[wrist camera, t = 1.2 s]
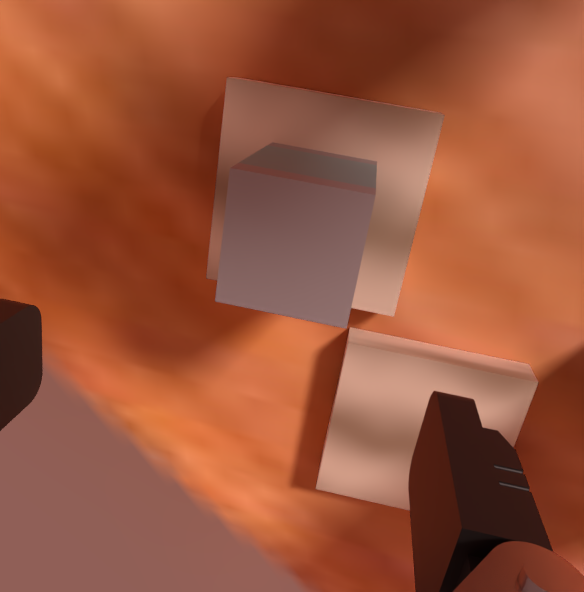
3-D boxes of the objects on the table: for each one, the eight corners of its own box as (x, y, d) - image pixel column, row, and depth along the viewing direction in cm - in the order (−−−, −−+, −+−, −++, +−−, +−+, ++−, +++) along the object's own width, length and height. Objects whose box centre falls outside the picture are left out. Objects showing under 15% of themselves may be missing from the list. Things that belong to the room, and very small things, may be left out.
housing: (272, 142, 26) (230, 168, 19) (377, 161, 26) (375, 194, 18) (258, 242, 28) (215, 301, 21) (355, 261, 28) (346, 328, 20)
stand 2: (349, 327, 31) (347, 342, 29) (528, 364, 30) (538, 382, 29) (319, 467, 35) (315, 488, 33) (477, 503, 34) (482, 527, 32)
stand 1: (237, 77, 27) (226, 77, 25) (440, 112, 26) (444, 115, 25) (216, 266, 31) (206, 278, 29) (393, 302, 30) (393, 316, 28)
